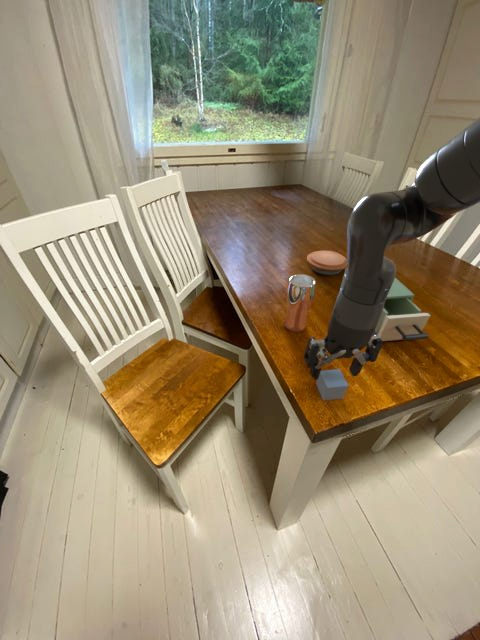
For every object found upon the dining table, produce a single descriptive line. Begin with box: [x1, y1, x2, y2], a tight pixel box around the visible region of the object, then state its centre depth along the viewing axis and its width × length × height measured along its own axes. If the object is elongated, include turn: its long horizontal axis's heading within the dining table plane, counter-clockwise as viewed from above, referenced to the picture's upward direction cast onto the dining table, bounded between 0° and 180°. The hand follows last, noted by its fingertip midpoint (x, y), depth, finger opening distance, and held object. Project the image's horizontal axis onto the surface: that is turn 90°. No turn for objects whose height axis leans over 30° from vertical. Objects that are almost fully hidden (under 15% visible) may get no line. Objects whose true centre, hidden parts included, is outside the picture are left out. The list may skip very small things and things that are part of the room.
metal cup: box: [284, 273, 317, 333], centre depth 74 cm, size 7×7×15 cm
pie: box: [306, 250, 347, 276], centre depth 105 cm, size 15×16×5 cm
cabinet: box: [338, 268, 415, 302], centre depth 83 cm, size 17×13×10 cm
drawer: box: [374, 298, 431, 342], centre depth 75 cm, size 20×11×8 cm, turn 7°
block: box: [315, 368, 349, 402], centre depth 60 cm, size 5×5×5 cm
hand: (333, 374), depth 58 cm, fingers open, 8 cm apart
